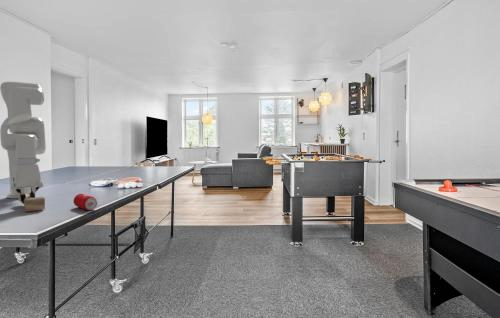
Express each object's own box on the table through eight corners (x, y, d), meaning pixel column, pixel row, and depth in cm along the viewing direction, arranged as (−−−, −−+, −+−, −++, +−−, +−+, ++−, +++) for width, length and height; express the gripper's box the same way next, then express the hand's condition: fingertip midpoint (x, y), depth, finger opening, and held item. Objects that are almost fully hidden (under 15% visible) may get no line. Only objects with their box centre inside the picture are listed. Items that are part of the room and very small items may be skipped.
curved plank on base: (12, 201, 155) (12, 190, 154) (30, 199, 160) (30, 188, 160) (26, 211, 142) (26, 200, 142) (44, 209, 147) (44, 198, 147)
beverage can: (87, 204, 158) (99, 208, 150) (74, 208, 153) (85, 212, 145) (85, 191, 156) (97, 195, 149) (71, 195, 152) (83, 199, 144)
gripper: (43, 160, 159) (45, 198, 160) (2, 162, 146) (4, 203, 148) (49, 161, 154) (50, 200, 155) (6, 163, 142) (9, 206, 143)
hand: (28, 201), depth 151 cm, fingers closed on curved plank on base, 2 cm apart
